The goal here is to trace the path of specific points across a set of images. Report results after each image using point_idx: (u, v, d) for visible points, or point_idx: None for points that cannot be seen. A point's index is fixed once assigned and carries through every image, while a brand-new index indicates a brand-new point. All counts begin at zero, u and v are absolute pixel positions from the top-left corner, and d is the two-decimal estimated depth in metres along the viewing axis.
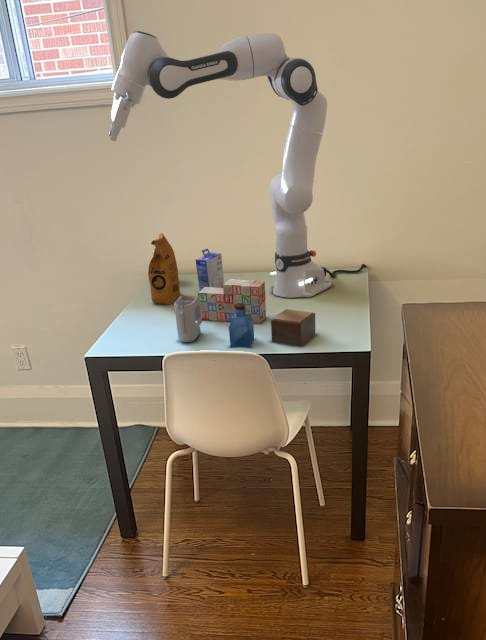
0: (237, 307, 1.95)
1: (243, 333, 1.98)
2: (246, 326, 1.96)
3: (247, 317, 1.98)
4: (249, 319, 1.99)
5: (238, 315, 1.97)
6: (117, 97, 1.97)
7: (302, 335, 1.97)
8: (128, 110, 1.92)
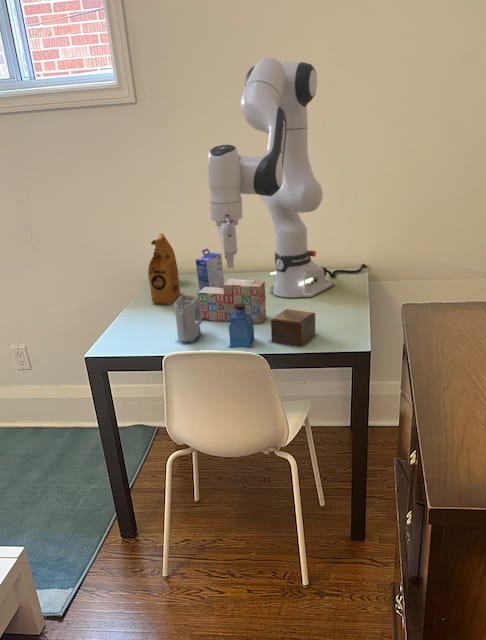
0: (237, 307, 1.95)
1: (243, 333, 1.98)
2: (246, 326, 1.96)
3: (247, 317, 1.98)
4: (249, 319, 1.99)
5: (238, 315, 1.97)
6: (219, 224, 1.82)
7: (302, 335, 1.97)
8: (234, 235, 1.77)
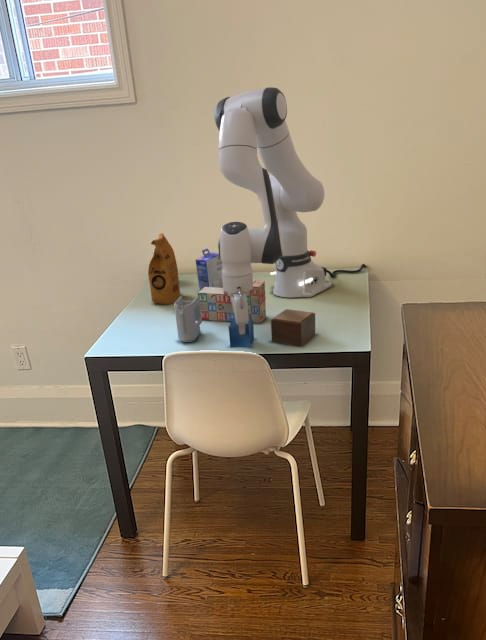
0: None
1: None
2: (246, 326, 1.96)
3: None
4: (249, 319, 1.99)
5: None
6: (231, 294, 1.92)
7: (302, 335, 1.97)
8: (246, 307, 1.87)
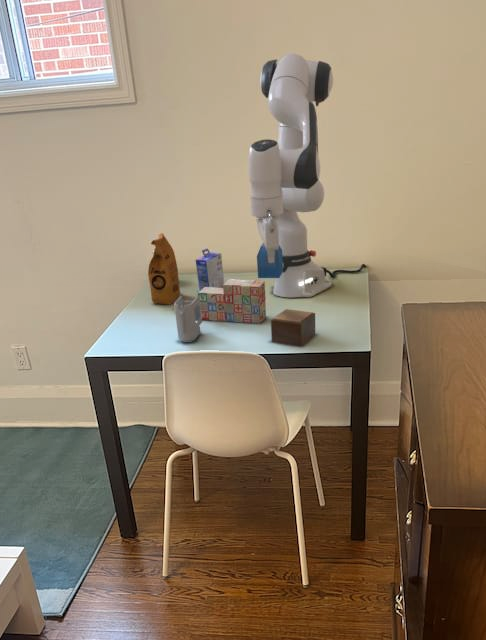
0: None
1: None
2: (276, 255, 1.86)
3: None
4: None
5: None
6: (260, 219, 1.82)
7: (302, 335, 1.97)
8: (276, 230, 1.77)
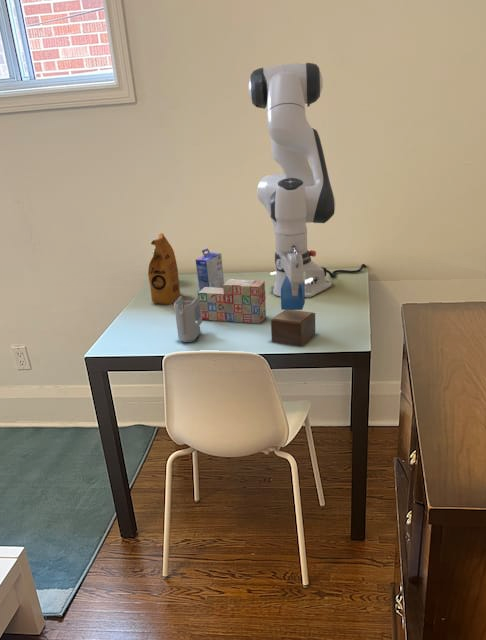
0: None
1: None
2: (299, 288, 1.92)
3: None
4: None
5: None
6: (285, 254, 1.88)
7: (302, 335, 1.97)
8: (301, 266, 1.82)
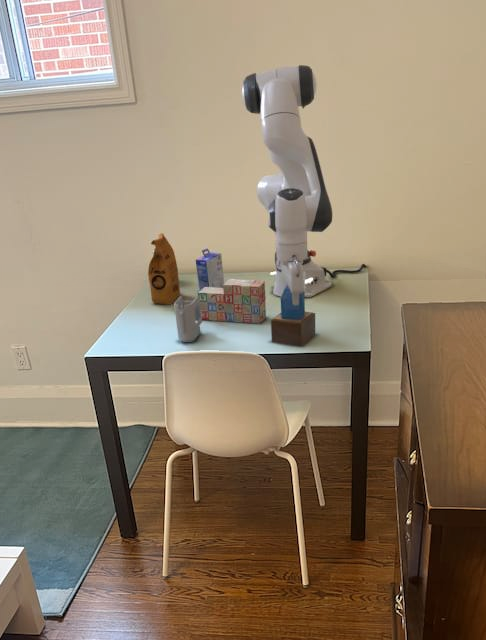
0: None
1: None
2: (299, 297, 1.93)
3: None
4: None
5: None
6: (285, 263, 1.89)
7: (302, 335, 1.97)
8: (302, 275, 1.84)
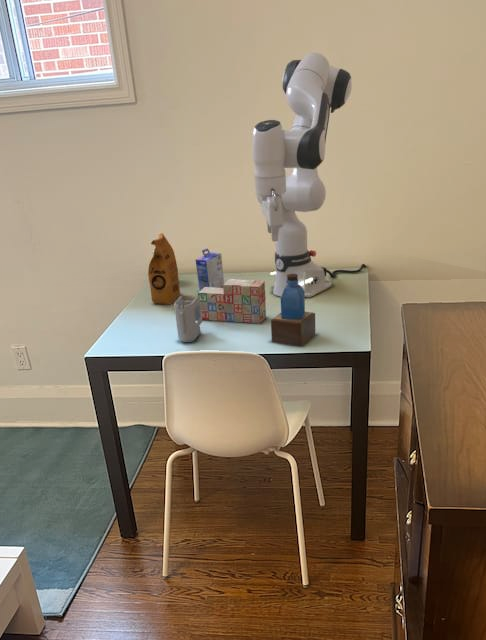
0: (290, 277, 1.92)
1: (295, 304, 1.95)
2: (299, 297, 1.93)
3: (300, 288, 1.95)
4: (301, 290, 1.96)
5: (290, 286, 1.94)
6: (264, 198, 1.88)
7: (302, 335, 1.97)
8: (280, 209, 1.83)
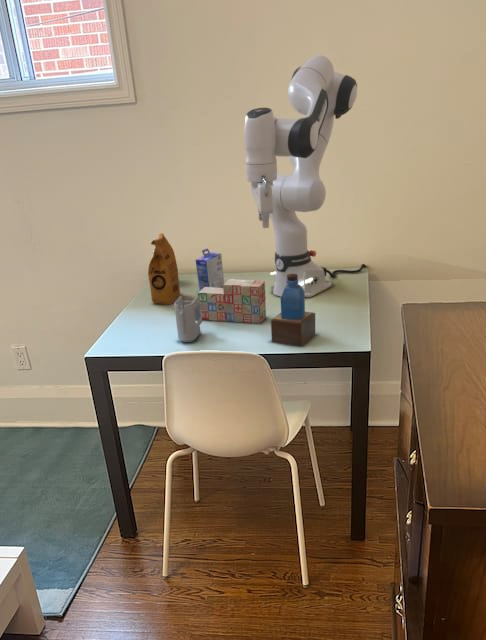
0: (290, 277, 1.92)
1: (295, 304, 1.95)
2: (299, 297, 1.93)
3: (300, 288, 1.95)
4: (301, 290, 1.96)
5: (290, 286, 1.94)
6: (255, 185, 1.90)
7: (302, 335, 1.97)
8: (270, 195, 1.85)
